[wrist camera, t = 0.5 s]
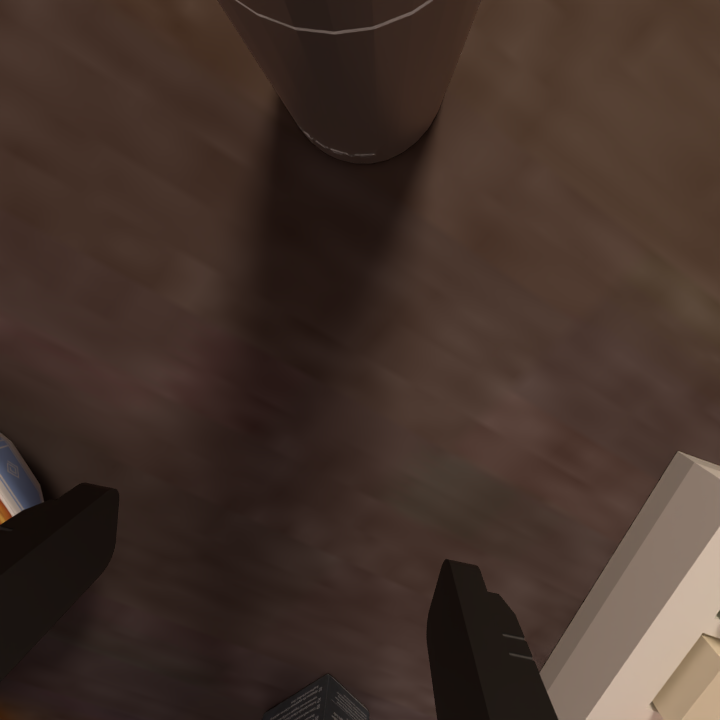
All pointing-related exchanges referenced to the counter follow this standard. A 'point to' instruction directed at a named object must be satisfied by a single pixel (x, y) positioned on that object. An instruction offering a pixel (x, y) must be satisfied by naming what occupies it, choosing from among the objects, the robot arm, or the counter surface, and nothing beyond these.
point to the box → (320, 704)
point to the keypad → (644, 603)
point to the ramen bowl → (16, 482)
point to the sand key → (693, 684)
